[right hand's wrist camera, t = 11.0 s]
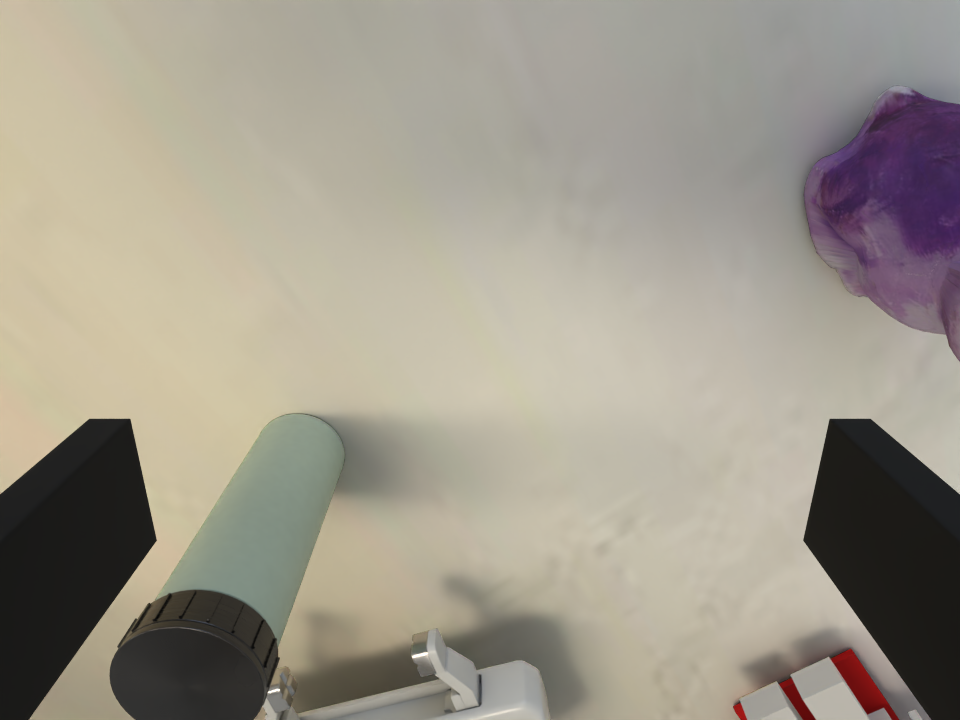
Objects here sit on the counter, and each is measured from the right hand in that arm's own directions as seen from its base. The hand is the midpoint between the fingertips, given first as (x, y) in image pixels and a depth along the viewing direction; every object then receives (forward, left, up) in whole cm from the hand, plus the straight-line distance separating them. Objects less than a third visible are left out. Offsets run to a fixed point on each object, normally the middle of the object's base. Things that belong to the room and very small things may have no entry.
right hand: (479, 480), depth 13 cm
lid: (-7, -16, -8) cm, 19 cm away
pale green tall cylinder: (-7, -16, -24) cm, 30 cm away
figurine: (+20, +7, -24) cm, 32 cm away
